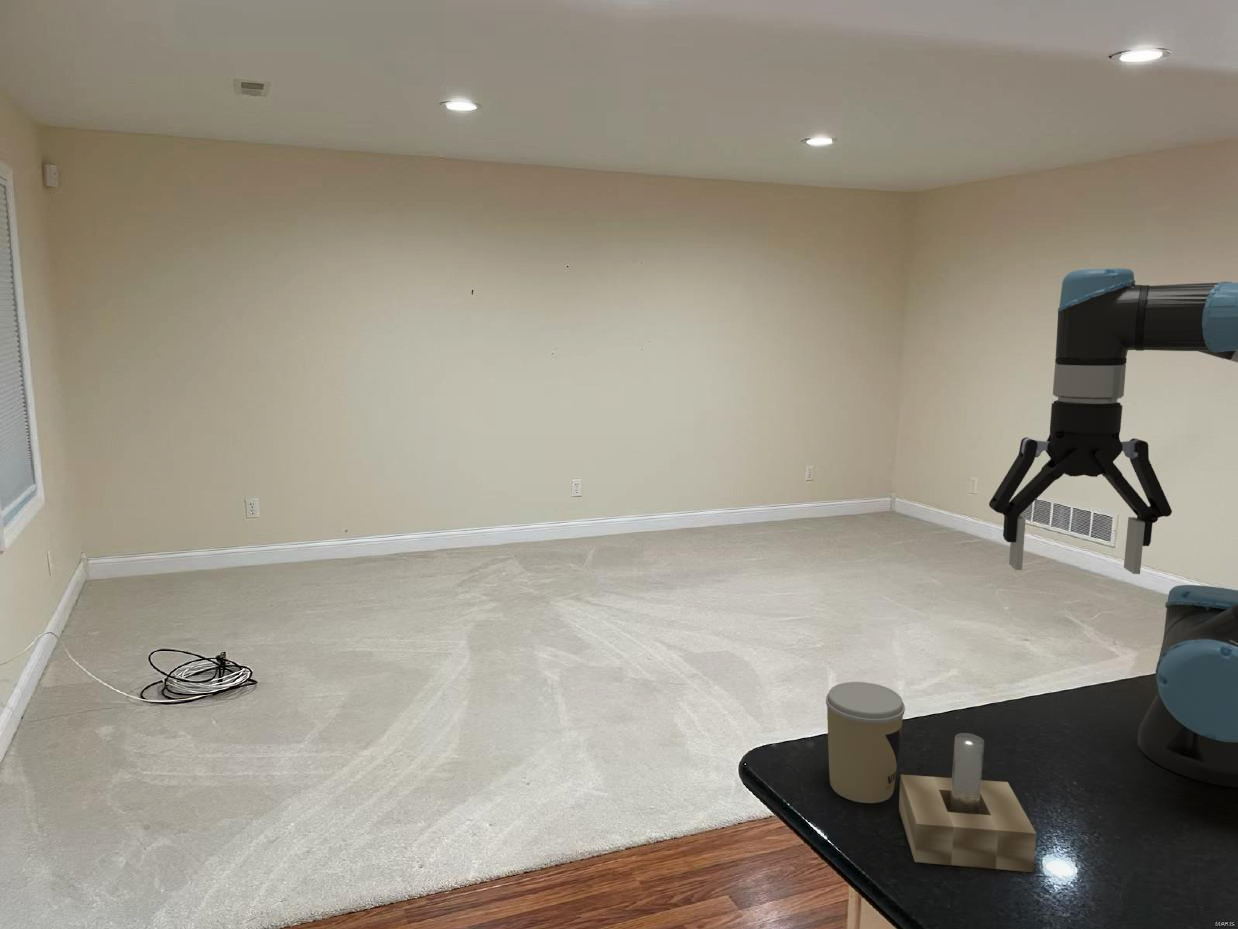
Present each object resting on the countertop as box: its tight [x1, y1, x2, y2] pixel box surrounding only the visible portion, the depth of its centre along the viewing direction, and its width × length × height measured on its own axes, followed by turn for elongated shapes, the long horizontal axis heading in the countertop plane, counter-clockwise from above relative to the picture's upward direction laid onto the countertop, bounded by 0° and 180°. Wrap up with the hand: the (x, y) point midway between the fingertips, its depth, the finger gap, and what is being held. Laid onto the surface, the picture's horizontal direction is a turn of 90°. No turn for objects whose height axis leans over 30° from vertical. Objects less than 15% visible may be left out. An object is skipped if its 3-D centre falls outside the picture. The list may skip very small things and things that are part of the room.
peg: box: [949, 732, 985, 814], centre depth 92 cm, size 3×3×12 cm
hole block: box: [898, 774, 1037, 873], centre depth 93 cm, size 12×10×4 cm
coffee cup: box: [825, 681, 906, 804], centre depth 103 cm, size 9×9×12 cm
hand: (1072, 569), depth 104 cm, fingers open, 13 cm apart
